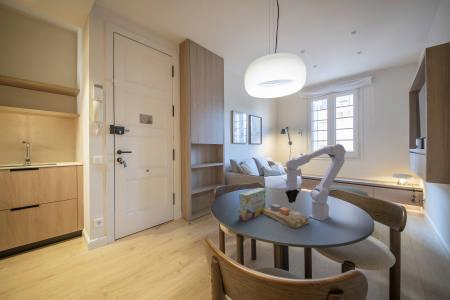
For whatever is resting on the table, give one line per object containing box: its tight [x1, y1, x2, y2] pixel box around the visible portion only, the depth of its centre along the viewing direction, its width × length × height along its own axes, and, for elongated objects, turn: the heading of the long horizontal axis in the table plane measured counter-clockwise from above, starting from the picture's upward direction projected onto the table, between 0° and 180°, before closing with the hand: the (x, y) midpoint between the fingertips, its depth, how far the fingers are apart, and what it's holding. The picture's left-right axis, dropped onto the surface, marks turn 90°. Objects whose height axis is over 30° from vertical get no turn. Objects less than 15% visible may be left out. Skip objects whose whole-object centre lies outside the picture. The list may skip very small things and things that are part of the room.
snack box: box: [238, 187, 267, 222], centre depth 106 cm, size 21×6×15 cm, turn 137°
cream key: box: [289, 210, 302, 220], centre depth 95 cm, size 4×4×4 cm
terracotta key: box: [279, 206, 292, 216], centre depth 102 cm, size 4×4×4 cm
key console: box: [263, 206, 310, 229], centre depth 102 cm, size 12×22×3 cm, turn 30°
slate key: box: [270, 203, 282, 212], centre depth 108 cm, size 4×4×4 cm
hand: (291, 202), depth 104 cm, fingers closed
